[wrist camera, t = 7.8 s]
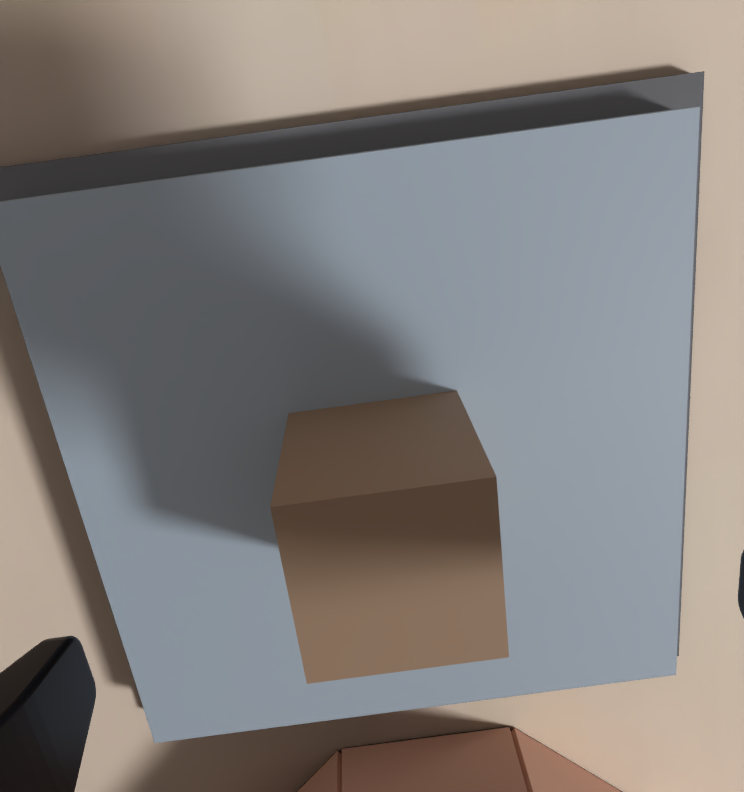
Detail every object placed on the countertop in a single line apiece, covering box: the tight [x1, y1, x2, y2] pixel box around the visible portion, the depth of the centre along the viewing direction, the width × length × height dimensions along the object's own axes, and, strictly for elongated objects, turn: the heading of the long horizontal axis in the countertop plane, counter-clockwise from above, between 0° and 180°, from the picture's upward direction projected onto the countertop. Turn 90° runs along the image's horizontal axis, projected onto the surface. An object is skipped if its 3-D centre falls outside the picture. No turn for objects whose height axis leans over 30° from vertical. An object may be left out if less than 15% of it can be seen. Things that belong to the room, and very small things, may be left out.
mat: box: [0, 71, 704, 656], centre depth 14 cm, size 13×13×1 cm
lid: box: [0, 107, 700, 743], centre depth 12 cm, size 12×12×4 cm
